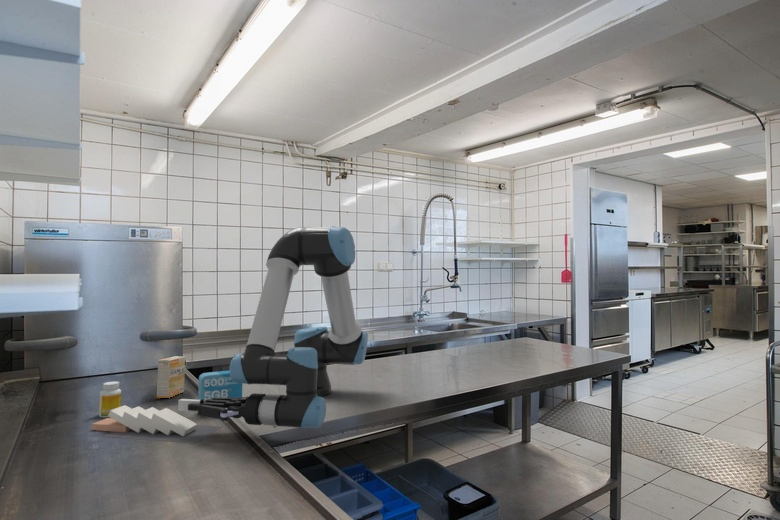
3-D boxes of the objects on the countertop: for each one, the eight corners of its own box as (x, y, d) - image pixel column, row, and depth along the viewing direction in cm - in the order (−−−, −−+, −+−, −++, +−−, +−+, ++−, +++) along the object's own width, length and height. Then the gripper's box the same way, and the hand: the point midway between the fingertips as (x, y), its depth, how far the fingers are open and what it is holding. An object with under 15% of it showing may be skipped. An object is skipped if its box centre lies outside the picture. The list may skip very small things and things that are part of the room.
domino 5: (197, 424, 113) (166, 407, 115) (185, 430, 108) (153, 413, 110) (195, 429, 113) (164, 413, 115) (183, 436, 108) (151, 419, 110)
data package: (200, 417, 125) (201, 376, 125) (197, 413, 129) (198, 373, 129) (242, 411, 131) (242, 371, 132) (238, 407, 135) (239, 369, 136)
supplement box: (168, 399, 144) (169, 360, 144) (156, 398, 145) (157, 359, 145) (184, 393, 152) (186, 356, 152) (173, 392, 153) (174, 355, 153)
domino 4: (182, 423, 114) (152, 407, 116) (170, 429, 109) (138, 412, 111) (180, 428, 114) (150, 412, 116) (168, 435, 109) (136, 418, 111)
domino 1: (139, 420, 116) (107, 417, 118) (125, 426, 111) (92, 423, 113) (139, 425, 116) (107, 423, 118) (125, 432, 111) (92, 429, 113)
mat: (222, 428, 116) (222, 426, 116) (195, 444, 104) (195, 443, 104) (137, 422, 120) (137, 421, 120) (102, 437, 108) (102, 436, 108)
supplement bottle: (95, 416, 125) (96, 383, 126) (115, 411, 130) (116, 380, 130) (104, 419, 122) (105, 385, 123) (124, 414, 127) (125, 382, 127)
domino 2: (154, 421, 115) (125, 405, 117) (140, 427, 110) (110, 410, 112) (152, 426, 115) (123, 410, 117) (138, 432, 110) (108, 415, 112)
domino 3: (168, 422, 115) (138, 406, 116) (155, 428, 110) (124, 411, 111) (166, 427, 115) (136, 411, 116) (153, 434, 110) (122, 417, 111)
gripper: (251, 433, 101) (162, 427, 105) (275, 416, 114) (194, 411, 118) (252, 401, 102) (163, 396, 105) (275, 388, 114) (195, 384, 118)
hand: (180, 404), depth 112 cm, fingers closed
